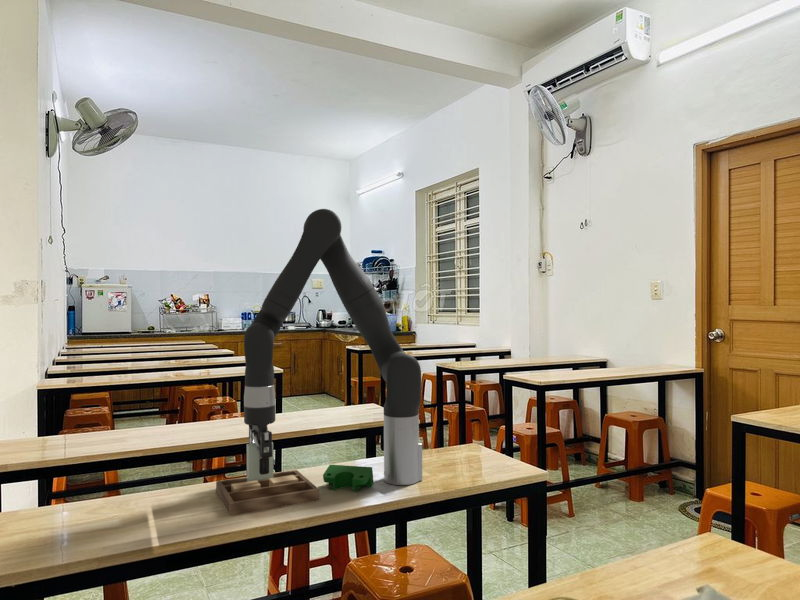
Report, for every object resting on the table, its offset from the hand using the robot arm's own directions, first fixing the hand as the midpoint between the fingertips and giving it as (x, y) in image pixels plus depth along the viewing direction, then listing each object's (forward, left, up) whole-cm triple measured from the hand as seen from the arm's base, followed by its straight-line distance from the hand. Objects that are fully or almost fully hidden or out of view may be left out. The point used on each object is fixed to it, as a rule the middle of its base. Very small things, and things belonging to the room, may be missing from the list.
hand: (260, 469), depth 137 cm
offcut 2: (-5, +5, -5) cm, 8 cm away
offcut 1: (+4, +5, -5) cm, 8 cm away
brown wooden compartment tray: (0, +6, -6) cm, 8 cm away
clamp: (-19, +10, -6) cm, 23 cm away
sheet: (0, 0, -5) cm, 5 cm away
